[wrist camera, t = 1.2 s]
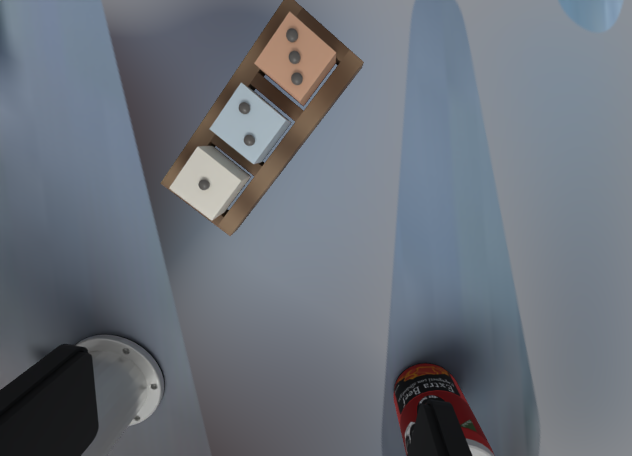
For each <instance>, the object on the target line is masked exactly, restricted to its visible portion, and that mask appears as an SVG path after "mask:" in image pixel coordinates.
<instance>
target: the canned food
mask: <svg viewBox="0 0 632 456" xmlns="http://www.w3.org/2000/svg"><path fill="white" fill-rule="evenodd" d="M428 399H432V400H438V401H445V402H450V403H451V404H452V406H453V408H454V411H455V413H456V416H457V418H458V421H459V423H460V426H461V428H462V431H463V433H464V436H465V438H466V441H467V443H468V446H469V448H470V451H471V453H472V456H495V455H494V453H493V451H492V449H491V447H490V445H489V443H488V441H487V439H486V437H485V435H484V433H483V431H482V429H481V428H480V426H479V424H478V422H477V420H476V418H475V416H474V414H473V412H472V410H471V408H470V406H469V405H468V403H467V401H466V399H465V397H464V395H463V393H462V391H461V389H460V387H459V385H458V383H457V382H456V380H455V378H454V377H453V376H452V375H451V374H450V373H449V372H448V371H446V370H445V369H443V368H442V367H440V366H438V365H434V364H427V363H424V364H417V365H414V366H412V367H410V368H408V369H406V370H405V371H404V372H403V373H402V374H401V375H400V376H399V378H398V379H397V381H396V384H395V388H394V403H395V407H396V411H397V416H398V420H399V424H400V429H401V433H402V438H403V442H404V446H405V451H406V455H407V454H408V450H409V446H410V442H411V438H412V434H413V430H414V426H415V422H416V418H417V414H418V410H419V406H420V404H426V402H427V400H428Z"/></svg>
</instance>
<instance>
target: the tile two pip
mask: <svg viewBox="0 0 632 456" xmlns="http://www.w3.org/2000/svg"><path fill="white" fill-rule="evenodd" d="M290 124H291V122H290V121H289V120H288V119H287V118H285V117H284V116H283V115H282V114H280V113H279V112H278V111H277V110H276V109H275V108H273V107H272V106H271V105H270V104H269V103H267V102H266V101H265V100H264V99H263V98H261V97H260V96H259V95H258V94H257V93H255V92H254V91H253V90H252V89H250V88H249V87H247V86H246V85H244V84H243V83H240V85H239V86H238V88H237V89H236V91H235V92H234V94H233V95H232V97H231V98H230V100H229V101H228V103H227V104H226V105H225V107H224V108H223V110H222V111H221V113H220V114H219V116H218V117H217V119H216V120H215V122H214V123H213V125H212V126H211V127H210V130H211V131H212V132H214V133H215V134H216V135H217V136H219V137H220V138H221V139H222V140H224V141H225V142H226V143H227V144H229V145H230V146H231V147H232V148H234V149H235V150H236V151H237V152H239V153H240V154H241V155H242V156H244V157H245V158H246V159H247V160H249V161H250V162H251V163H252V164H256V163H260V162H262V161H263V160H264V158H265V157H266V156H267V155H268V153H269V152H270V151H271V149H272V148H273V147H274V145H275V144H276V143H277V141H278V140H279V138H280V137H281V136H282V135H283V133H284V132H285V131H286V129H287V128H288V127H289V125H290Z"/></svg>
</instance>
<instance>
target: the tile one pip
mask: <svg viewBox="0 0 632 456" xmlns="http://www.w3.org/2000/svg"><path fill="white" fill-rule="evenodd" d="M250 177H251V176H250V175H249V174H247V173H246V172H245V171H244V170H242V169H241V168H240V167H238V166H237V165H236V164H235V163H233V162H232V161H231V160H230V159H229V158H227V157H226V156H225V155H223V154H222V153H221V152H220V151H218V150H217V149H216V148H215V147H213V146H198V147H197V148H196V149H195V151H194V152H193V154H192V155H191V157H190V158H189V160H188V161H187V163H186V164H185V166H184V167H183V169H182V170H181V171H180V173H179V174H178V176H177V177H176V179H175V180H174V182H173V183H172V185H171V186H170V188H169V189H171V190H172V191H173V192H175V193H176V194H177V195H179V196H180V197H181V198H183V199H184V200H185V201H186V202H188V203H189V204H190V205H192V206H193V207H194V208H196V209H197V210H198V211H200V212H201V213H202V214H204V215H205V216H206V217H208V218H209V219H210V220H211V221H212V220H214V219H215V218H217V217H218V216H220V215H221V214H223V213H224V212H225V211H226V210H227V208H228V207H229V206H230V204H231V203H232V202H233V200H234V199H235V198H236V196H237V195H238V193H239V192H240V191H241V190H242V188H243V187H244V186H245V184H246V183H247V182H248V180H249V179H250Z"/></svg>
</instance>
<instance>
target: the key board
mask: <svg viewBox="0 0 632 456" xmlns="http://www.w3.org/2000/svg"><path fill="white" fill-rule="evenodd" d="M289 12H291V13H292V14H293V15H294V16H295V17H297V18H298V19H299V20H300V21H301V22H302V23H303V24H304V25H306V26H307V27H308V28H309V29H310V30H311V31H312V32H314V33H315V34H316V35H317V36H318V37H319V38H320V39H321V40H323V41H324V42H325V43H326V44H327V45H328V46H329V47H330V48H332V49H333V50H334V51H335V52H336V64H337V65H338V66H337V67H336V69H335V70H334V71H333V73H332V74H331V75H330V77H329V78H328V79H327V81H326V82H325V83H324V85H323V86H322V87H321V89H320V90H319V91H318V93H317V94H316V95H315V97H314V98H313V99H312V101H311V102H310V103H309V105H308V106H307V107H306V109H305V110H304V111H303V110H302V109H301V108H300V107H298V106H297V105H296V104H295V103H294V102H292V101H291V100H290V99H289V98H288V97H287V96H285V95H284V94H283V93H282V92H281V91H279V90H278V89H277V88H276V87H275V86H274V85H272V84H271V83H270V82H269V81H268V80H266V79H265V78H264V76H265V73H263V72H262V71H261V70H260V69H259V68H258V67H257V66H256V65H255V64H254V63H255V61H256V60H257V58H258V57H259V56H260V54H261V53H262V51H263V50H264V48H265V47H266V45H267V44H268V42H269V41H270V39H271V38H272V36H273V35H274V34H275V32H276V31H277V29H278V28H279V26H280V25H281V23H282V22H283V20H284V19H285V17H286V16H287V14H288V13H289ZM363 63H364V62H363V61H362V60H361V59H360V58H359V57H357V56H356V55H355V54H354V53H353V52H352V51H351V50H349V49H348V48H347V47H346V46H345V45H344V44H343V43H342V42H341V41H339V40H338V39H337V38H336V37H335V36H334V35H333V34H331V33H330V32H329V31H328V30H327V29H326V28H325V27H324V26H322V24H320V23H319V22H318V21H317V20H316V19H315V18H314V17H313V16H311V15H310V14H309V13H308V12H307V11H306V10H305V9H304V8H302V7H301V6H300V5H299V4H298V3H297V2H296V1H295V0H283V2H282V3H281V5H280V6H279V8H278V9H277V11H276V12H275V14H274V15H273V16H272V18H271V19H270V21H269V22H268V24H267V25H266V27H265V28H264V30H263V32H262V33H261V34H260V36H259V37H258V39H257V41H256V42H255V43H254V45H253V46H252V48H251V49H250V51H249V52H248V54H247V55H246V57H245V58H244V60H243V61H242V63H241V64H240V66H239V67H238V69H237V70H236V72H235V73H234V75H233V76H232V78H231V79H230V81H229V82H228V84H227V85H226V87H225V88H224V89H223V91H222V93H221V94H220V95H219V97H218V98H217V100H216V101H215V103H214V104H213V106H212V107H211V109H210V110H209V112H208V113H207V115H206V116H205V118H204V119H203V121H202V122H201V124H200V125H199V127H198V128H197V130H196V131H195V133H194V134H193V136H192V137H191V139H190V140H189V142H188V143H187V145H186V146H185V148H184V149H183V151H182V152H181V154H180V155H179V157H178V158H177V160H176V161H175V163H174V164H173V166H172V167H171V168H170V170H169V171H168V173H167V175H166V176H165V178H164V179H163V180H162V182H161V184H162V185H164V186H165V187H166V188H167V189H169V188H170V186H171V185H172V183H173V182H174V180H175V179H176V177H177V176H178V174H179V173H180V171H181V170H182V169H183V167H184V166H185V164H186V163H187V161H188V160H189V158H190V157H191V155H192V154H193V152H194V151H195V149H196V148H197V147H198V146H213V147H215V146H217V147H218V148H220V149H221V150H222V151H223V152H224V153H226V154H227V155H228V156H230V157H231V158H232V159H233V160H235V161H236V162H237V163H238V164H240V165H241V166H242V167H243V168H245V169H246V170H247V171H248V172H250V173H251V174H252V175H253V176H255V177H254V178H253V179H252V181H251V182H250V184H249V185H248V186H247V187H246V189H245V190H244V191H243V193H242V194H241V195H240V197H239V198H238V199H237V201H236V202H235V204H234V205H233V206H232V207H231V209H230V210H226V211H225V212H224V213H223V214H221V215H220V216H218V217H217V218H215V219H214V220H212V221H211V220H210V219H209V218H208V217H206V216H205V215H204V214H202V213H201V212H200V211H198V210H197V209H196V208H194V207H193V206H192V205H190V204H189V203H188V202H186V201H185V200H184V199H183V198H181V197H180V196H179V195H177V194H176V193H175V192H173V191H172V190H171V189H169V190H170V191H171V192H173V193H174V194H175V195H177V196H178V197H179V198H180V199H182V200H183V201H185V202H186V203H187V204H188V205H190V206H191V207H192V208H194V209H195V210H196V211H198V212H199V213H200V214H202V215H203V216H204V217H206V218H207V219H208V220H210V221H211V222H212V223H214V224H215V225H216V226H217V227H219V228H220V229H221V230H223V231H224V232H225V233H227V234H228V235H229V236H231V235H232V234H233V233H234V232H235V231H236V230H237V229H238V228H239V227H240V225H241V224H242V223H243V221H244V220H245V219H246V217H247V216H248V215H249V214H250V212H251V211H252V210H253V208H254V207H255V206H256V204H257V203H258V202H259V201H260V199H261V198H262V196H263V195H264V194H265V193H266V192H267V190H268V189H269V188H270V186H271V185H272V184H273V182H274V181H275V179H276V178H277V177H278V176H279V175H280V173H281V172H282V171H283V169H284V168H285V167H286V165H287V164H288V163H289V162H290V160H291V159H292V158H293V156H294V155H295V154H296V152H297V151H298V150H299V149H300V147H301V146H302V145H303V143H304V142H305V141H306V140H307V138H308V137H309V136H310V134H311V133H312V132H313V130H314V129H315V128H316V127H317V125H318V124H319V123H320V121H321V120H322V119H323V118H324V116H325V115H326V114H327V112H328V111H329V110H330V108H331V107H332V106H333V105H334V103H335V102H336V100H337V99H338V98H339V97H340V95H341V94H342V93H343V92H344V90H345V89H346V88H347V86H348V85H349V84H350V82H351V81H352V80H353V79H354V77H355V76H356V74H357V73H358V72H359V71H360V69H361V68H362V65H363ZM240 83H243V84H244V85H246V86H247V87H249V88H250V89H252V90H253V91H254V90H255V89H257V90H258V91H259V92H261V93H262V94H263V95H264V96H265V97H267V98H268V99H269V100H270V101H271V102H273V103H274V104H275V105H276V106H277V107H278V108H280V109H281V110H282V111H283V112H284V113H286V114H287V115H288V116H289V117H291V118H292V119H293V120H294V121H295V123H294V125H293V126H292V127H291V129H290V130H289V131H288V133H287V134H286V135H285V137H284V138H283V139H282V141H281V142H280V143H279V145H278V146H277V147H276V149H275V150H274V151H273V153H272V154H271V155H270V157H269V158H268V159H267V161H266V162H265V163H264V162H263V161H262V162H260V163H256V164H252V163H251V162H250V161H249V160H247V159H246V158H245V157H244V156H242V155H241V154H240V153H239V152H237V151H236V150H235V149H234V148H232V147H231V146H230V145H229V144H227V143H226V142H225V141H224V140H222V139H221V138H220V137H219V136H217V135H216V134H215V133H214V132H212V131H211V130H210V127H211V126H212V125H213V123H214V122H215V120H216V119H217V117H218V116H219V114H220V113H221V111H222V110H223V108H224V107H225V105H226V104H227V103H228V101H229V100H230V98H231V97H232V95H233V94H234V92H235V91H236V89H237V88H238V86H239V85H240Z"/></svg>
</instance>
